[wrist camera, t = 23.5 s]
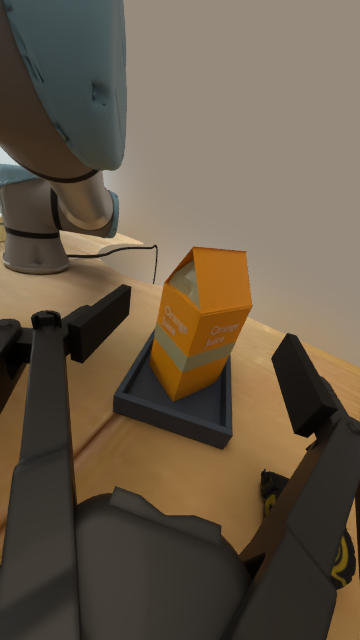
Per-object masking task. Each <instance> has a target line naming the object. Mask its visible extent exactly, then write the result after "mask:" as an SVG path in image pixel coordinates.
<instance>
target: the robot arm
mask: <svg viewBox="0 0 360 640" xmlns="http://www.w3.org/2000/svg"><path fill="white" fill-rule="evenodd" d="M124 20H125V19H124V6H123V0H0V146H1V147H2V149H3V150H4V151H5V152H6V153H7V154H8V155H9V156H10V157H11V158H12V159H13V160H14V161H15V162H17V163H18V164H19V165H20V166H17V165H7V164H0V210H1V215H2V219H3V223H4V227H5V231H6V241H5V252H4V253H3V261H4V265H5V266H6V267H7V268H9V269H11V270H13V271H17V272H21V273H27V274H54V273H59V272H63V271H65V270H67V269H68V268H69V267H70V264H69V258H68V257H76V258H91V257H102V256H106V255H109V254H111V253H113V252H116V251H120V250H126V249H152V248H154V247H156V263H155V272H154V279H153V284H154V282H155V275H156V267H157V257H158V256H157V255H158V248H157V246H156V245H154V246H153V247H125V248H119V249H115V250H112V251H110V252H108V253H105V254H98V255H66V253H65V250H64V248H63V245H62V243H61V240H60V234H59V230H62V231H68V232H74V233H80V234H86V235H91V236H97V237H101V238H113V237H114V236H115V235H116V231H117V225H118V217H119V201H118V196H117V195H116V194H115V193H114V192H111V191H110V190H107V189H106V188H105V187H104V183H103V175H102V171H103V170H111V171H112V170H116V169H118V168H119V167H120V166H121V162H122V160H123V157H124V149H125V136H126V111H127V88H126V37H125V21H124ZM130 297H131V286H127V285H124V284H123V285H121V286H120V287H118V288H117V289H115V290H114V291H113V292H111V293H110V294H108V295H107V296H105V297H104V298H103V299H101V300H100V301H98V302H97V303H95V304H94V305H93V306H89V305H85V306H82V307H79V308H78V309H76V310H75V311H73V312H72V313H70V314H69V315H67V316H65V317H64V318H62V319H61V316H60V314H59V313H58V312H55V311H48V310H46V311H40V312H37V313H35V314H33V315H32V317H31V321H32V325H33V328H22V327H21V325H20V322H19V321H17V320H15V319H2V320H0V414H1V412H2V410H3V408H4V407H5V405H6V403H7V401H8V399H9V397H10V395H11V393H12V391H13V389H14V387H15V385H16V384H17V382H18V380H19V378H20V376H21V374H22V372H23V370H24V368H25V366H26V364H27V363H29V364H30V369H29V378H28V387H27V396H26V405H25V414H24V423H23V433H22V442H21V451H20V459H19V463H18V464H17V465H16V466H15V468H14V471H13V476H12V483H11V491H10V499H9V506H8V514H7V522H6V530H5V538H4V546H3V554H2V562H1V565H0V640H326V638H327V635H328V631H329V627H330V623H331V620H332V616H333V612H334V608H335V604H336V598H337V592H336V587H335V586H334V585H333V583H332V582H331V573H332V570H333V566H334V563H335V560H336V557H337V553H338V550H339V547H340V543H341V540H342V537H343V534H344V530H345V527H346V524H347V520H348V517H349V514H350V510H351V507H352V504H353V501H354V497H355V508H356V525H357V543H358V560H359V578H360V422H359V421H357V420H356V419H354V418H352V417H350V416H349V415H348V414H347V412H346V410H345V409H344V407H343V405H342V404H341V402H340V400H339V399H338V398H337V395H336V394H335V392H334V390H333V389H332V387H331V385H330V384H329V383H328V382H327V381H326V380H325V379H324V378H323V377H321V376H319V374H318V372H317V370H316V369H315V367H314V365H313V363H312V362H311V360H310V358H309V356H308V355H307V353H306V351H305V349H304V348H303V346H302V344H301V342H300V341H299V339H298V337H297V336H296V335H292V334H289V333H287V334H286V336H285V337H284V339H283V340H282V342H281V344H280V345H279V347H278V348H277V350H276V351H275V353H274V355H273V356H272V358H271V359H272V363H273V366H274V369H275V372H276V376H277V379H278V382H279V386H280V389H281V392H282V395H283V399H284V402H285V405H286V408H287V412H288V415H289V418H290V421H291V425H292V428H293V431H294V434H297V435H300V436H303V437H306V438H308V437H309V436H310V435H311V434H313V433H315V436H316V438H317V439H316V440H315V441H314V442H313V443H312V444H311V445H309V446H308V447H307V448H306V450H307V453H306V454H305V456H304V458H303V459H302V461H301V462H300V464H299V465H298V467H297V469H296V470H295V472H294V473H293V475H292V477H291V478H290V480H289V481H288V483H287V485H286V486H285V488H284V489H283V491H282V492H281V494H280V496H279V497H278V499H277V500H276V502H275V504H274V505H273V507H272V508H271V510H270V512H269V513H268V515H267V516H266V518H265V520H264V521H263V523H262V524H261V526H260V527H259V529H258V531H257V532H256V534H255V535H254V537H253V539H252V540H251V542H250V543H249V544H248V545H247V546H246V547H245V548H244V549H243V551H242V552H241V553H240V554H239V555H238V554H237V552H236V551H235V549H234V548H233V547H232V546H231V544H230V543H229V542H228V541H227V540H226V539H225V538H224V537H223V536H222V535H221V525H219V524H216V523H214V522H211V521H208V520H205V519H203V518H200V517H197V516H195V515H173V516H168V515H164V514H163V513H162V512H160V511H159V510H158V509H157V508H155V507H154V506H153V505H152V504H151V503H149V502H148V501H147V500H146V499H144V498H143V497H142V496H141V495H138V494H135V493H133V492H130V491H127V490H125V489H122V488H119V487H117V486H115V488H114V491H113V493H106V494H100V495H97V496H93V497H91V498H89V499H87V500H85V501H83V502H81V503H80V504H78V505H77V496H76V485H75V475H74V462H73V448H72V435H71V421H70V408H69V394H68V381H67V367H66V356H67V355H69V354H71V360H73V361H76V362H79V363H82V364H83V363H84V361H85V360H86V359H87V358H88V357H89V356H90V355H91V354H92V353H93V352H94V351H95V350H96V349H97V348H98V347H99V346H100V345H101V343H102V342H103V341H104V340H105V339H106V338H107V337H108V336H109V335H110V334H111V333H112V332H113V331H114V330H115V329H116V328H117V327H118V326H119V324H120V323H121V322H122V321H123V320H124V319H125V318H126V317H127V316H128V315H129V308H130Z"/></svg>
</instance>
